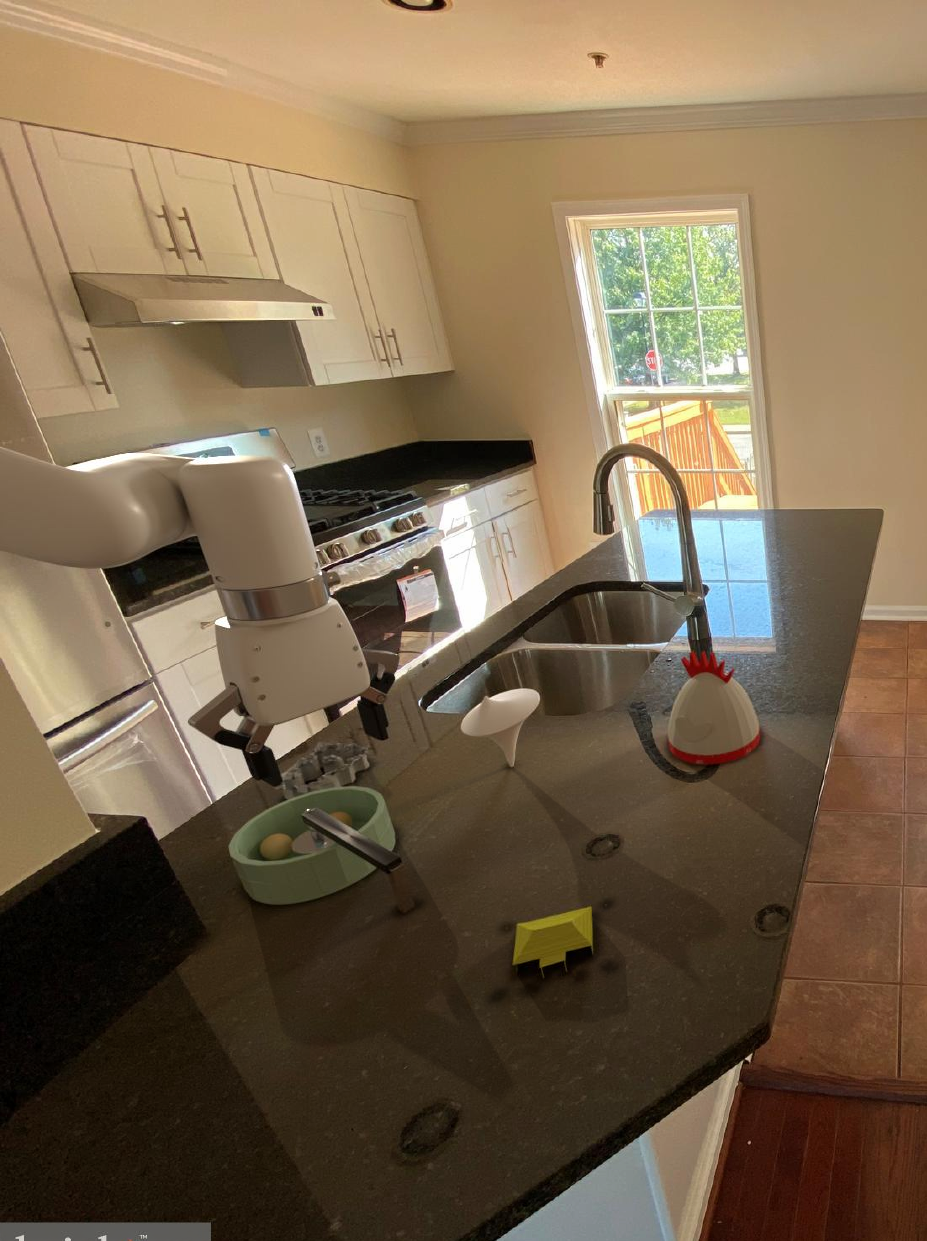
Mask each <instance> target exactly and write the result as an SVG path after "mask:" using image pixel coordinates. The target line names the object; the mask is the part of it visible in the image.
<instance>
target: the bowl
mask: <svg viewBox="0 0 927 1241" xmlns="http://www.w3.org/2000/svg"><path fill="white" fill-rule="evenodd" d="M316 807H317V808H318V809H320V810H322V811H324V812H325V813H327V814H329V815H330V814H331V813H334V812H345V813H347V814H349V815H350V816H351V818H352V821H353V824H352V827H351V828H352V829H354V830H356V831H357V832H359V833H361V834H363V835H364V836H366V837H368V838H369V839H371V840H373V841H374V842H376V843H378V844H379V845H381V846H383V847H385V848H386V849H388V850H390V851H391V852H393V850H394V848H395V845H396V840H397V839H396V832H395V829H394V826H393V823H392V820H391V817H390V813H389V810H388V806H387V803H386V801H385V799H384V797H383V795H382V793H380V792H378V791H377V790H375V789H372V788H371V787H366V786H365V787H364V786H357V785H348V786H341V787H333V788H328V789H323V790H318V791H313V792H310V793H307V794H304V795H300V796H297V797H294V798H291V799H289V800H287V799H286V800H284V801H282V802H280V803H277V804H276V805H274V806H271V807H269V808H267V809H265V810H264V811H262V812H261V813H259V814H257V815H255V816H254V817H253V818H251V819H250V820H248V821H247V822H246V823H245V824H243V826H242V827H240V828H239V829H238V830H237V831H236V832H235V833H234V835H233V836H232V838H231V839H230V842H229V844H228V852H229V856H230V859H231V862H232V864H233V865H234V868H235V869H236V873H237V875H238V876H239V879H240V882H241V884H242V887H243V888H244V891H245V892H246V893H247V895H248V896H249V897H250V898H251V899H252V900H254V901H256V902H258V903H259V902H260V903H262V904H267V905H280V906H281V905H292V904H298V903H304V902H308V901H313V900H315V899H319V898H322V897H325V896H329V895H331V894H333V893H336V892H338V891H341V890H343V889H345V888H347V887H349V886H352V885H353V884H355V883H357V882H359V881H360V880H362V879H364V878H365V877H366V876H368V875H369V874H371V873H372V872H374V871H375V870H376V869H378V868H377V867H375V866H373V865H372V864H370V863H369V862H367V861H365V860H364V859H362V858H360V857H359V856H357V855H356V854H354V853H352V852H351V851H349V850H347V849H346V848H344V847H342V846H341V845H339V844H338V843H336V844H334V845H332V846H330V847H327V848H325V849H322V850H319V851H317V852H314V853H311V854H308V855H304V856H300V857H295V856H294V853H293V850H291V852H290V853H289V854H288V855H287V856H286V857H284V858H282V859H278V860H269V859H266V858H264V857H263V856H262V855H261V853H260V845H261V843H262V842H263V841H264V839H266V838H267V837H269V836H270V835H273V834H285V835H288V836H289V837H290V838H291V839H292V841H294V840H295V839H296V838H297V837H298V836H300V835H301V834H303V833H304V832H306V831H308V830H309V827H308V825H307V824H305V823H304V822H303V819H302V816H301V814H303V813H304V812H305V811H306V810H308V809H314V808H316Z"/></svg>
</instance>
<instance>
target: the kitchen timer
mask: <svg viewBox="0 0 927 1241" xmlns="http://www.w3.org/2000/svg"><path fill="white" fill-rule="evenodd" d="M681 663H682V665H683V667H684V669H685V671H686V673H687V674H688V676H689V679H688V680H687V681H686V682H685V683H684V684H683V686H682V687H681V688H680V690H679V691H678V692H677V693H676V694H675V696H676V698H675V700H674V703H673V705H672V708H671V713H670V717H669V721H668V726H667V727H668V728H667V736H668V745H669V751H670V752H671V754H673V756H674V757H676V758H677V759H679V760H681V761H683V762H686V763H690V764H694V765H695V764H696V765H706V766H707V765H719V764H725V763H729V762H733V761H736V760H739V759H740V758H743V757H745V756H746V755H748V754H749V753H751V752H753V751H754V749H756V747H757V746H758V745H759V742H760V739H761V738H760V737H761V733H760V723H759V720H758V717H757V714H756V711H755V708H754V705H753V703H752V701H751V699H750V697H749V695H748V693H747V692H746V690H745V688H744V687H743V686H742V685H741V684H740V683H739V682H738V681H737V680H736V679H734V678H733V675H734V672H735V668H732V669H731V670H730V671H729V673H725V664H726V661H725V659H723V660H722V661H721V662H720V663H719V664H718V662H717V658H716V654H715V652H714V651H713V652H711V653H710V655H709V660H708V658H707V653H706V651H705V650H703V651H702V652H701V654H700V658H699V660H698V658H697V654H696V652H695V651H694V650H692V651H691V652H689V659H688V658H687V657H686V656H683V657H682V658H681Z"/></svg>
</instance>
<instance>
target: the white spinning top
mask: <svg viewBox="0 0 927 1241" xmlns="http://www.w3.org/2000/svg"><path fill="white" fill-rule="evenodd" d="M540 700H541V697H540V694H539V692H537V691H536V690H535V689H531V688H516V689H515V688H514V689H510V690H507V691H503V692H499V693H498V694H495V695H493V696H491V697H489V696H488V695H485V696H484V697H483V699H482V701H481V702H479V703H478V704H477V705H476V706H475V707H473V708H472V709H471V710H470V711H468V712H467V714H466V715H465V716H464V718H463V719H462V721H461V723H460V731H461V732H462V733H463V734H465V735H466V736H469V737H482V738H486V739H489V740H492V741H494V743H496V744H497V745H498V746H499V747H500V748H501V750H502V751H503V753H504V756H505V759H506V761H507V764H508V765H509V767H510V768H514V766H515V759H516V758H515V757H516V756H515V755H516V749H517V742H518V737H519V734H520V730H521V728H522V726H523V724H524V723H525V721H526V720H527V719H528V717H529V716H530V715H532V714H533V712H534V711H535V710H536V709H537V708H538V706H539V704H540Z"/></svg>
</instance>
